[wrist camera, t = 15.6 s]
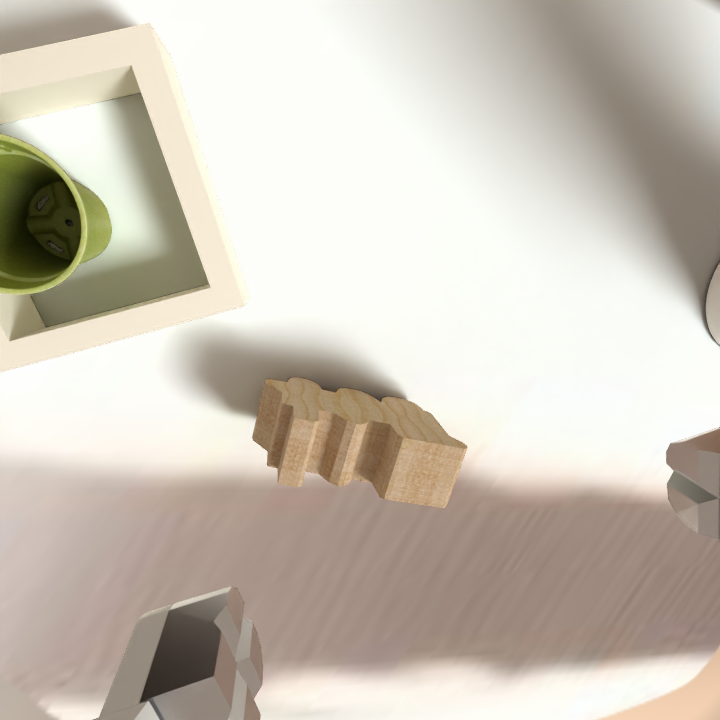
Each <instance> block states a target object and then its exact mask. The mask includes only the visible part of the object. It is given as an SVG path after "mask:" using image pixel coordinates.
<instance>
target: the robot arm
mask: <svg viewBox="0 0 720 720" xmlns="http://www.w3.org/2000/svg"><path fill="white" fill-rule="evenodd" d="M706 318H707V323H708V327H709V330H710V332H711V334H712V336H713V338H714V339H715V341H716V342H717V343H718V344H719V345H720V263H719V265H718V266H717V268H716V270H715V272H714V275H713V277H712V280H711V282H710V286H709V289H708V294H707V300H706ZM666 463H667V464H668V465H669V466H670V467H671V468H672V469H673V470H674V472H673V474H672V476H671V477H670V479H669V481H668V483H667V490H668V499H669V501H670V503H671V505H672V507H673V509H674V511H675V513H676V514H677V515H678V517H679V518H680V519H681V520H682V521H683V522H684V523H685V524H686V525H687V526H689V527H690V528H691V529H693V530H694V531H695V532H697V533H698V534H701V535H704V536H708V537H711V538H714V539H718V541H719V543H720V427H719V428H715V429H712V430H709V431H706V432H703V433H700V434H697V435H694V436H691V437H688V438H685V439H682V440H679V441H676V442H673V443H670V445H669V447H668V449H667V451H666ZM243 609H244V601H243V599H242V597H241V595H240V593H239V591H238V588H236V587H233V586H231V587H228V588H224V589H221V590H218V591H214V592H211V593H208V594H204V595H201V596H197V597H194V598H191V599H187V600H184V601H181V602H177V603H175V604H174V605H169V606H166V607H163V608H159V609H156V610H153V611H150V612H146V613H144V614H143V615H142V616H141V617H140V618H139V619H138V621H137V623H136V626H135V628H134V631H133V633H132V636H131V638H130V641H129V643H128V646H127V648H126V651H125V653H124V656H123V658H122V661H121V663H120V666H119V668H118V671H117V673H116V676H115V678H114V681H113V683H112V686H111V688H110V691H109V693H108V696H107V698H106V701H105V703H104V706H103V708H102V711H101V714H100V716H99V718H96V719H93V720H260V712H259V710H258V708H257V706H256V703H255V701H254V698H255V696H256V694H257V693H258V691H259V689H260V688H261V686H262V677H263V663H262V653H261V645H260V642H259V638H258V634H257V631H256V629H255V626H254V624H253V622H252V621H250V620H248V619H246V618H244V617H243Z"/></svg>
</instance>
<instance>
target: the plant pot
mask: <svg viewBox="0 0 720 720" xmlns="http://www.w3.org/2000/svg"><path fill="white" fill-rule="evenodd" d="M44 196H48V197H49V199H48V200H47V201H46V202H45V204H44V205H43V207H42V209H41V211H38V210H37V205H38V202H39V201H40V200H41V198H43V197H44ZM67 219H69V220H71V221H72V222H73V225H72V226H68V225H67V224H66V223H65V221H66V220H67ZM111 233H112V227H111V222H110V218H109V214H108V211H107V208H106V207H105V205H104V203H103V202H102V201H101V200H100V199H99V197H98V196H97V195H96V194H94V193H93V192H92V191H90V190H89V189H87V188H86V187H84V186H82V185H81V184H79V183H77V182H75V181H73V180H72V179H70V177H69V176H68V175H67V174H66V172H65V171H64V170H63V169H62V168H61V167H60V166H59V165H58V164H57V163H56V162H55V161H54V160H53V159H51V158H50V157H49V156H48V155H46V154H45V153H43V152H42V151H40V150H39V149H37V148H35V147H34V146H32V145H30V144H28V143H26V142H24V141H22V140H19V139H16V138H13V137H11V136H7V135H3V134H0V293H3V294H13V295H22V294H32V293H38V292H42V291H45V290H48V289H50V288H52V287H55V286H56V285H58V284H60V283H61V282H63V281H64V280H65V279H67V278H68V277H69V276H70V275H71V274H72V273H73V272H74V271H75V269H76V268H77V267H78V265H79V264H81V263H84V262H86V261H88V260H91V259H93V258H95V257H96V256H98V255H99V254H101V253H102V252H103V251H104V250H105V248H106V247H107V245H108V243H109V241H110V238H111ZM48 240H50V241H51V242H53V243H54V244H55V245H56V246H58V247H59V248H61V249H63V250H64V252H59V251H57V250H55V249H54V248H52V247H51V246H50V245H49V244H48Z"/></svg>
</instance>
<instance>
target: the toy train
mask: <svg viewBox="0 0 720 720" xmlns="http://www.w3.org/2000/svg"><path fill="white" fill-rule="evenodd" d="M252 438H253V440H254V441H255V442H256V443H257V444H259V445H260V446H261V447H263V448H264V449H265V450H267V451H268V458H267V466H269V467H274V468H278V484H283V485H289V486H295V487H299V486H301V485H302V483H303V479H304V475H305V471H306V472H311V473H316V474H320V475H321V476H322V477H323V478H324V479H326V480H327V481H328V482H330V483H332V484H335V485H337V486H344V485H346V484H348V483H349V482H350V480H351V479H352V480H359V481H365V482H371V483H373V485H374V487H375V489H376V491H377V493H378V495H379V497H381V498H383V499H386V500H393V501H400V502H406V503H413V504H420V505H427V506H434V507H441V508H444V507H446V506H447V503H448V500H449V498H450V495H451V492H452V489H453V486H454V484H455V481H456V478H457V475H458V473H459V470H460V467H461V464H462V461H463V459H464V456H465V453H466V450H467V445H465V444H464V443H462V442H460V441H458V440H456V439H454V438H452V437H450V436H449V435H448V434H447V433H446V432H445V430H444V429H443V428H442V427H441V425H440V424H439V423H438V422H437V420H436V419H435V418H434V417H433V415H432V414H431V413H429V412H427V411H424V410H422V409H421V408H420V407H419V406H418V405H416V404H415V403H412V402H410V401H408V400H404V399H401V398H397V397H384V398H382V401H381V402H380V401H378V400H377V399H375V398H374V397H372V396H370V395H368V394H366V393H364V392H362V391H359V390H355V389H350V388H340V389H338V390H337V391H336V392H331V391H327V390H322V388H321V387H320V385H318V384H317V383H315V382H314V381H311V380H308V379H305V378H299V377H293V378H289V380H288V382H284V381H278V380H273V379H266V380H265V385H264V389H263V393H262V398H261V402H260V406H259V410H258V415H257V419H256V423H255V428H254V432H253V436H252Z"/></svg>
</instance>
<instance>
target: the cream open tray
mask: <svg viewBox="0 0 720 720" xmlns="http://www.w3.org/2000/svg"><path fill="white" fill-rule="evenodd" d="M137 93H141V94H142V97H143V99H144V102H145V105H146V108H147V111H148V113H149V116H150V119H151V122H152V125H153V127H154V130H155V133H156V136H157V139H158V141H159V144H160V147H161V150H162V153H163V156H164V158H165V161H166V164H167V167H168V170H169V172H170V175H171V178H172V181H173V184H174V186H175V189H176V192H177V195H178V198H179V200H180V203H181V206H182V209H183V212H184V214H185V217H186V220H187V223H188V226H189V229H190V231H191V234H192V237H193V240H194V243H195V245H196V248H197V251H198V254H199V257H200V259H201V262H202V265H203V268H204V271H205V273H206V276H207V279H208V282H209V284H208V285H205V286H201V287H197V288H193V289H190V290H186V291H182V292H178V293H174V294H171V295H167V296H163V297H159V298H156V299H152V300H148V301H144V302H141V303H137V304H133V305H129V306H125V307H122V308H118V309H114V310H110V311H107V312H103V313H99V314H95V315H91V316H88V317H84V318H80V319H76V320H73V321H69V322H65V323H61V324H58V325H54V326H50V327H45V325H44V323H43V321H42V319H41V317H40V315H39V313H38V311H37V309H36V307H35V305H34V302H33V300H32V298H31V296H30V294H22V295H13V294H3V293H0V372H4V371H7V370H11V369H15V368H18V367H22V366H26V365H29V364H33V363H37V362H40V361H44V360H48V359H52V358H55V357H59V356H63V355H66V354H70V353H74V352H77V351H81V350H85V349H88V348H92V347H96V346H100V345H103V344H107V343H111V342H114V341H118V340H122V339H125V338H129V337H133V336H136V335H140V334H144V333H147V332H151V331H155V330H159V329H162V328H166V327H170V326H173V325H177V324H181V323H184V322H188V321H192V320H195V319H199V318H203V317H207V316H210V315H214V314H218V313H221V312H225V311H229V310H232V309H236V308H240V307H243V306H245V305H246V303H247V302H248V300H249V299H250V295H249V292H248V289H247V286H246V283H245V280H244V277H243V274H242V271H241V268H240V265H239V262H238V259H237V256H236V253H235V249H234V246H233V243H232V240H231V237H230V234H229V231H228V228H227V225H226V222H225V219H224V216H223V213H222V210H221V207H220V204H219V201H218V198H217V195H216V192H215V189H214V186H213V183H212V180H211V177H210V174H209V171H208V167H207V164H206V161H205V158H204V155H203V152H202V149H201V146H200V143H199V140H198V137H197V134H196V131H195V128H194V125H193V122H192V119H191V116H190V113H189V110H188V107H187V104H186V101H185V98H184V95H183V92H182V89H181V85H180V82H179V79H178V76H177V73H176V70H175V67H174V64H173V61H172V58H171V55H170V53H169V52H168V50H167V48H166V47H165V45H164V44H163V42H162V41H161V39H160V38H159V36H158V35H157V33H156V32H155V30H154V29H153V27H152V25H151V24H150V23H147V24H142V25H137V26H133V27H128V28H123V29H119V30H114V31H109V32H104V33H100V34H95V35H90V36H86V37H81V38H76V39H72V40H67V41H62V42H58V43H53V44H48V45H43V46H39V47H34V48H29V49H25V50H20V51H15V52H11V53H6V54H1V55H0V124H4V123H9V122H13V121H17V120H22V119H26V118H31V117H35V116H40V115H44V114H48V113H53V112H57V111H62V110H66V109H71V108H75V107H79V106H84V105H88V104H93V103H97V102H102V101H106V100H110V99H115V98H119V97H124V96H128V95H133V94H137Z"/></svg>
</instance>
